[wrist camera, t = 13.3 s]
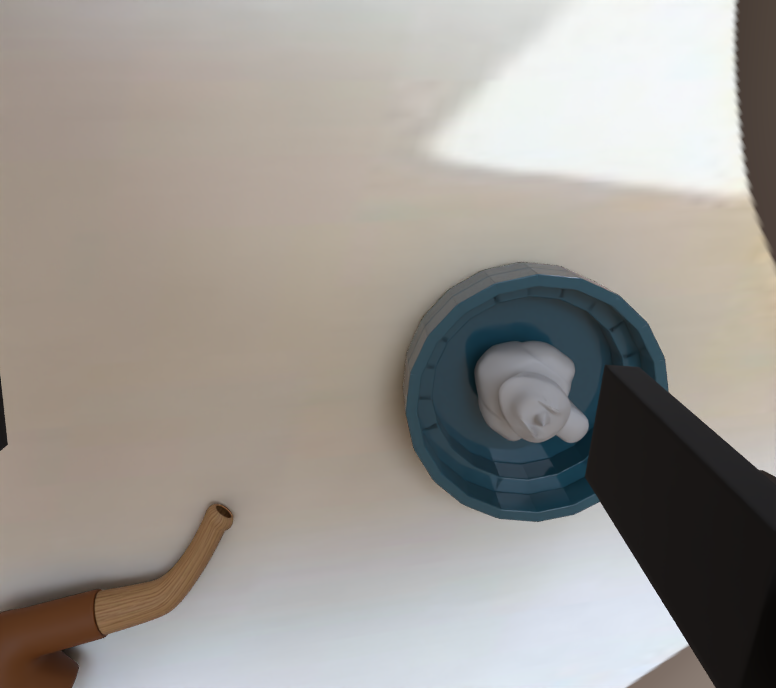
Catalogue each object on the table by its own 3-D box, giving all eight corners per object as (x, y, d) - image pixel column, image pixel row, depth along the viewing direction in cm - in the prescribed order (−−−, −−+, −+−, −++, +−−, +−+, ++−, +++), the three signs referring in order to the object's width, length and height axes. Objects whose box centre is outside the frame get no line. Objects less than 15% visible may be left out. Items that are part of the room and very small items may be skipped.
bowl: (417, 249, 36) (422, 262, 31) (656, 273, 36) (694, 289, 32) (392, 471, 39) (394, 510, 35) (610, 490, 40) (639, 530, 35)
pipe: (-42, 636, 42) (-108, 712, 36) (162, 445, 39) (125, 495, 33) (51, 705, 43) (1, 788, 38) (254, 527, 40) (234, 589, 34)
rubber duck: (506, 307, 36) (541, 348, 28) (597, 375, 37) (655, 432, 29) (445, 384, 37) (463, 443, 29) (536, 447, 38) (576, 520, 31)
